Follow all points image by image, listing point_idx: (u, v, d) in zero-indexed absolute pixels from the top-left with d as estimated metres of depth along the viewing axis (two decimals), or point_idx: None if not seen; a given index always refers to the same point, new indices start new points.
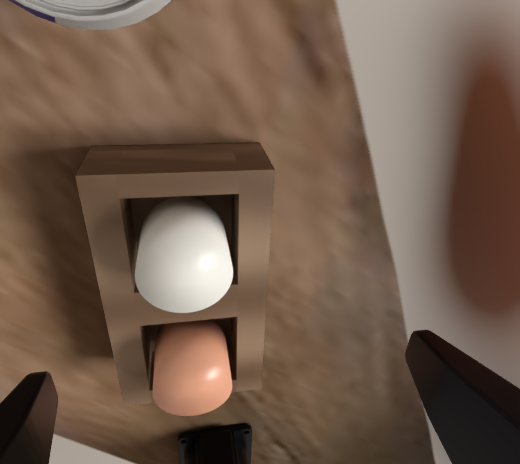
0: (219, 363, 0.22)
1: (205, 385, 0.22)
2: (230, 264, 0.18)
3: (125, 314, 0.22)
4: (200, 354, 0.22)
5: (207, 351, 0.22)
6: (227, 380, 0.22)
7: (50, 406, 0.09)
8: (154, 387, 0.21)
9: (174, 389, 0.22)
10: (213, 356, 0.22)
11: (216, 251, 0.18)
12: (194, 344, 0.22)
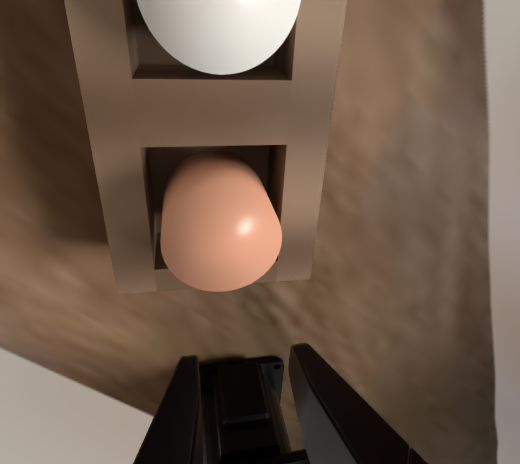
0: (263, 198, 0.14)
1: (242, 236, 0.14)
2: None
3: (118, 121, 0.14)
4: (235, 182, 0.14)
5: (244, 182, 0.14)
6: (275, 228, 0.14)
7: None
8: (163, 231, 0.14)
9: (193, 238, 0.14)
10: (254, 189, 0.14)
11: None
12: (224, 173, 0.14)
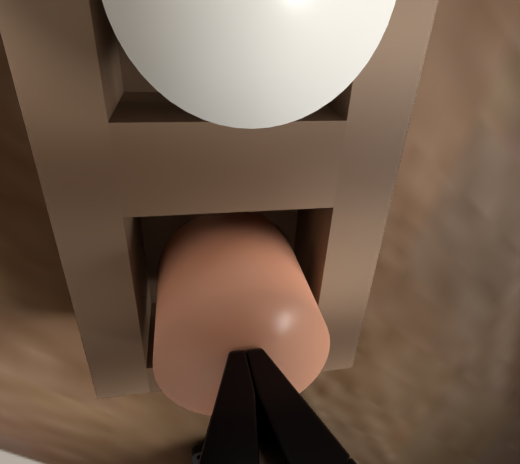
0: (306, 296, 0.10)
1: (272, 348, 0.10)
2: None
3: (89, 183, 0.09)
4: (263, 274, 0.09)
5: (276, 270, 0.10)
6: (321, 337, 0.10)
7: None
8: (157, 349, 0.09)
9: (202, 356, 0.09)
10: (291, 281, 0.10)
11: None
12: (246, 255, 0.10)
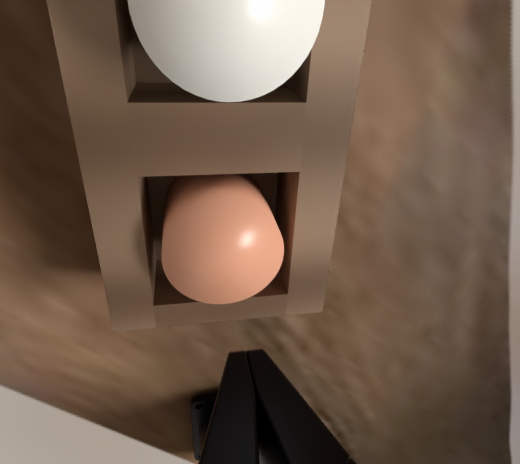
0: (265, 211, 0.14)
1: (243, 248, 0.14)
2: None
3: (112, 149, 0.13)
4: (237, 195, 0.14)
5: (246, 194, 0.14)
6: (277, 241, 0.14)
7: None
8: (164, 244, 0.14)
9: (195, 252, 0.14)
10: (256, 201, 0.14)
11: None
12: (225, 185, 0.14)
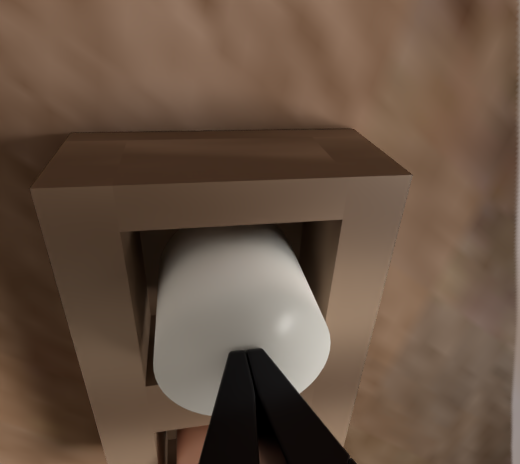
0: None
1: None
2: (327, 337, 0.10)
3: (130, 418, 0.13)
4: None
5: None
6: None
7: None
8: None
9: None
10: None
11: (305, 317, 0.09)
12: None
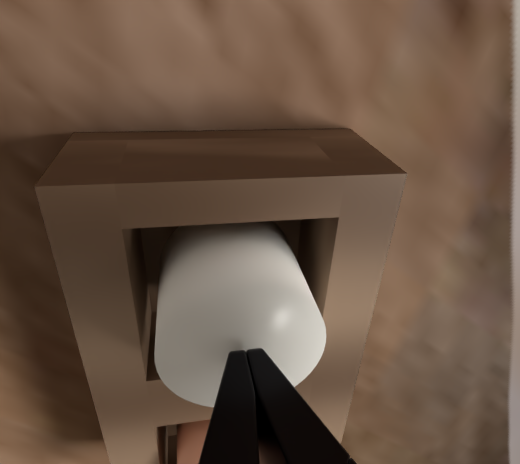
0: None
1: None
2: (323, 330, 0.10)
3: (131, 412, 0.13)
4: None
5: None
6: None
7: None
8: None
9: None
10: None
11: (301, 310, 0.10)
12: None
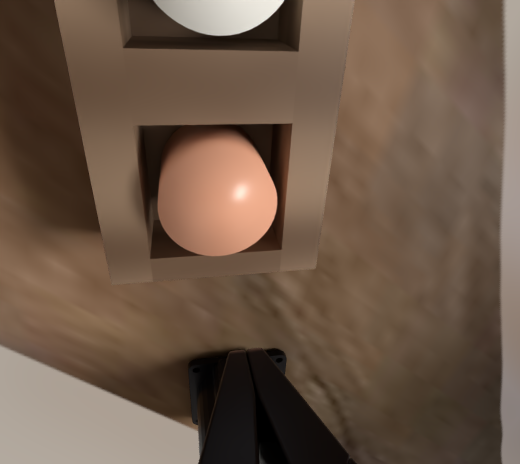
0: (259, 162, 0.14)
1: (238, 199, 0.15)
2: None
3: (108, 96, 0.13)
4: (231, 145, 0.14)
5: (240, 146, 0.14)
6: (270, 192, 0.15)
7: None
8: (160, 193, 0.14)
9: (190, 201, 0.14)
10: (250, 152, 0.14)
11: None
12: (219, 137, 0.15)
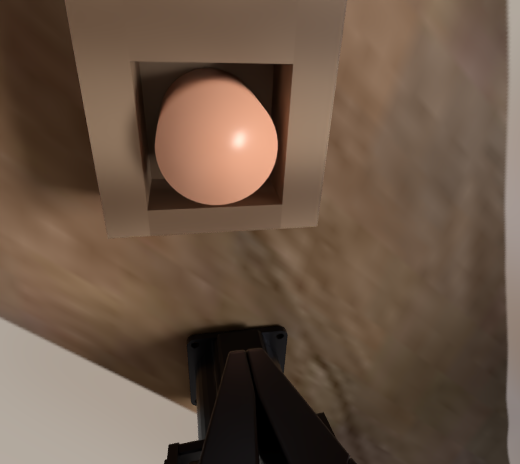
0: (259, 102, 0.14)
1: (237, 142, 0.14)
2: None
3: (105, 28, 0.13)
4: (230, 84, 0.14)
5: (239, 87, 0.14)
6: (271, 135, 0.14)
7: None
8: (158, 132, 0.14)
9: (188, 143, 0.14)
10: (249, 94, 0.14)
11: None
12: (219, 79, 0.14)
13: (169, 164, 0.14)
